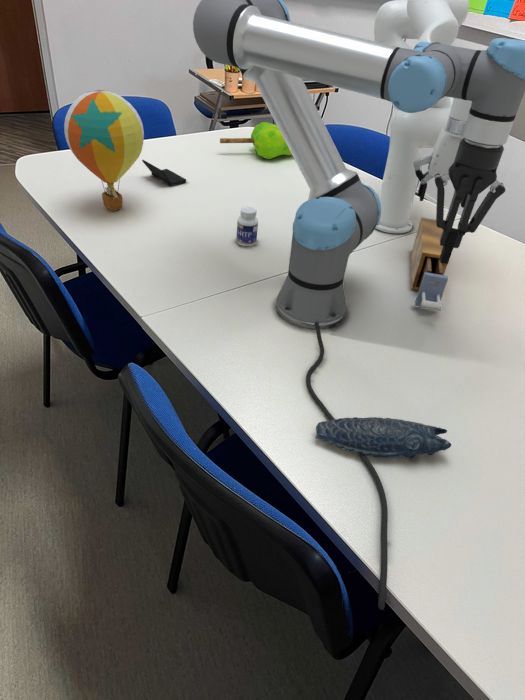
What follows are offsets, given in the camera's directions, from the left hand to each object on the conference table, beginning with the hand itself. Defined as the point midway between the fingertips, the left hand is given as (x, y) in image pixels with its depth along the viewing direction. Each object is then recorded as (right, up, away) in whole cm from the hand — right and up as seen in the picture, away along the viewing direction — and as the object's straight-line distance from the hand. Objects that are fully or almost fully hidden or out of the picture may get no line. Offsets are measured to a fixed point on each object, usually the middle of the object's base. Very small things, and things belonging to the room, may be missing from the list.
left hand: (443, 260), depth 106 cm
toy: (-79, +21, +39) cm, 91 cm away
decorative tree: (-38, +53, +84) cm, 106 cm away
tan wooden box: (+3, +1, +24) cm, 24 cm away
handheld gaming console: (-68, +35, +58) cm, 96 cm away
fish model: (-18, -34, -22) cm, 44 cm away
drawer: (+1, -5, +14) cm, 15 cm away
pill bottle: (-41, +10, +29) cm, 52 cm away
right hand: (+6, +17, +17) cm, 25 cm away
